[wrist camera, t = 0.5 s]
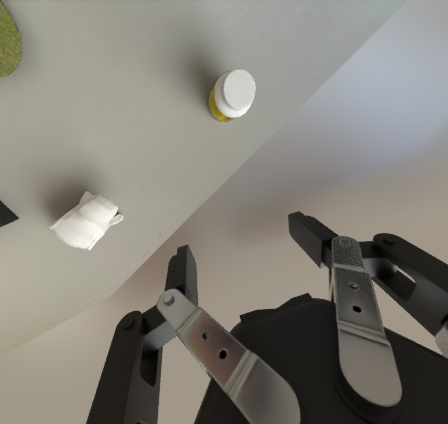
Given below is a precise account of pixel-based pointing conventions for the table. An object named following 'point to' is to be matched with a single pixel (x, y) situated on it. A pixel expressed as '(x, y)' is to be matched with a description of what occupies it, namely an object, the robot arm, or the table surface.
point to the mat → (8, 43)
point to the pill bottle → (231, 95)
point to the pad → (6, 215)
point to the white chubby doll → (86, 221)
